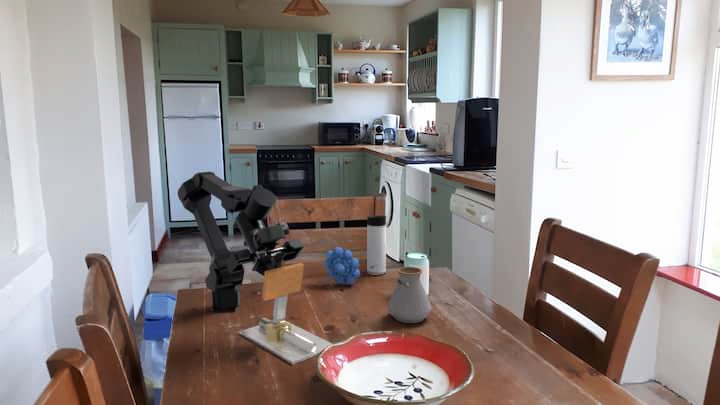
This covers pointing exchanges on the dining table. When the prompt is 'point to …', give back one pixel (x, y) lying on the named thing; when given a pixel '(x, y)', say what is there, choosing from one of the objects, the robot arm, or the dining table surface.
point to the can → (422, 263)
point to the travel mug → (376, 244)
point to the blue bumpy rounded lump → (342, 266)
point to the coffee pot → (409, 297)
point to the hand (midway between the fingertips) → (280, 285)
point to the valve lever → (282, 288)
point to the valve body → (286, 340)
